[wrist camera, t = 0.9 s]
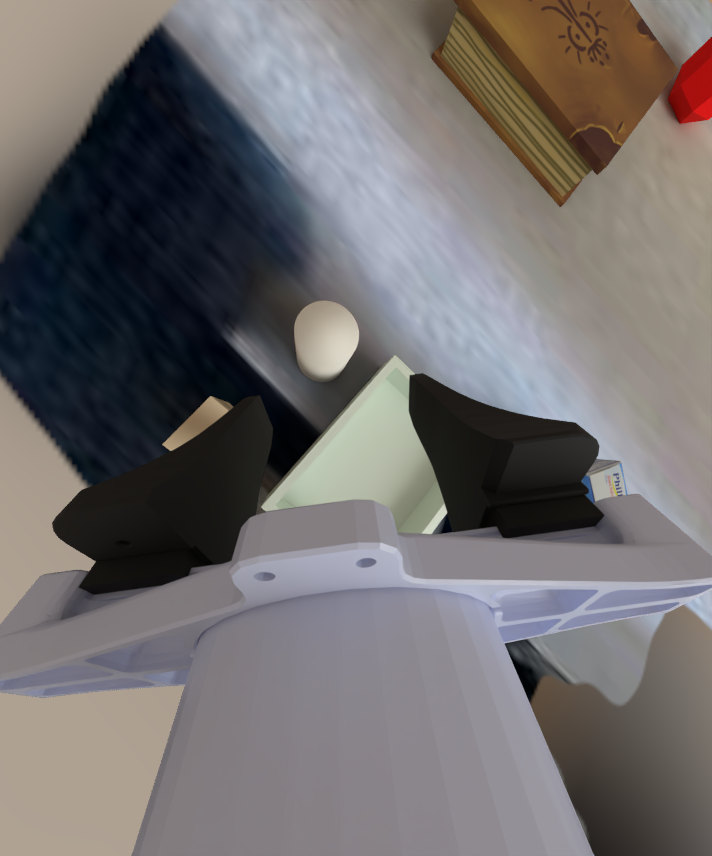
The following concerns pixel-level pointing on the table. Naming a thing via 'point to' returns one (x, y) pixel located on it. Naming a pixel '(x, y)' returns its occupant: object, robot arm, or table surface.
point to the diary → (556, 79)
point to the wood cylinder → (324, 340)
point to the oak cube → (198, 422)
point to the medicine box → (605, 480)
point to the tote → (369, 458)
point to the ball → (694, 87)
